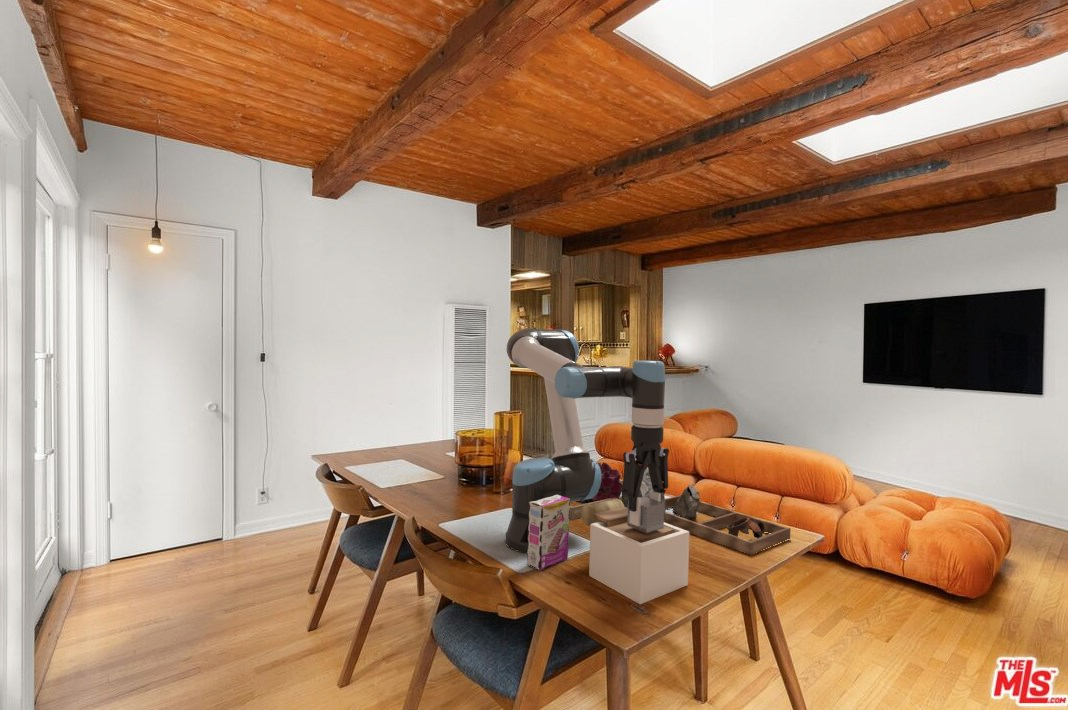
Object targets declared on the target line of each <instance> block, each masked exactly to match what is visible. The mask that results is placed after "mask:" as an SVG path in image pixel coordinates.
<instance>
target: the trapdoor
mask: <svg viewBox="0 0 1068 710" xmlns="http://www.w3.org/2000/svg"><path fill="white" fill-rule="evenodd" d="M627 516H628V508H626V507H624V504H623V503H622V501H621V500H619V499H613V500H608V501H604V502H599V503H595V504H590V505H586V506H583V508H582V510H581V517H582V518H581V519H582V522H583V523H584V524H585V525H586V526H588V527H590V524H592V523H596V522H600V521H604V522H606V523H607V526H604V527H605V528H608V529H610V530H612V531H615V532H617V533H619V534H621V535H624V536H626V537H628V538H631V539H633V540H635V541H638V542H640V543H643V542H646V541H649V540H653V539H656V538H659V537H663V536H666V535H669V534H672V533H674V529H671V528H669V527H666V526H664V528H663V529H659V530H656V531H652V532H649V533H644V532H642V531H639V530H637V529H635V528H632V527H630V526H627Z"/></svg>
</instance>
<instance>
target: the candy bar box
mask: <svg viewBox="0 0 1068 710" xmlns="http://www.w3.org/2000/svg"><path fill="white" fill-rule="evenodd" d="M570 506H571V502H570V498H567V497H564V496H560V495H554V496H551V497H547V498H544V499H540V500H536V501H532V502H529V528H528V553H527V554H526V555H527V559H526V560H527V561H526V565H527V564H528V565H530V566H532V567H531V568H533V567H534V568H533V569H535V568H536V569H535V570H537V569H538V571H540V572H541V571H542V570H544V569H547V568H549V566H550V567H551V565H552V566H554V565H556V564H558V562H559V563H561V562H563V561H566V560H568V559H567V558H568V557H569V537H570V535H569V533H570V519H569V513H570ZM565 559H566V560H565ZM560 561H561V562H560ZM528 565H527V566H528ZM530 566H529V567H530Z"/></svg>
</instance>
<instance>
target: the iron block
mask: <svg viewBox="0 0 1068 710" xmlns="http://www.w3.org/2000/svg"><path fill="white" fill-rule="evenodd" d="M629 522H630V510H629V501H628V516H627V526H630V527H632V528H635V529H637V530H639V531H642V532H644V533H649V532H652V531H656V530H659V529H663V528H664V503H662V502H659V501H656V500H653V499H650V498H647V497H642V498H641V517H640V526H636V525H634V524H631V523H629Z"/></svg>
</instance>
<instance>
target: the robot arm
mask: <svg viewBox="0 0 1068 710" xmlns="http://www.w3.org/2000/svg"><path fill="white" fill-rule="evenodd" d="M506 353H507V357H508V359H509V360H510V361H511V362H512V363H513V364H514V365H516V366H518V367H519V368H523V369H527V368H528V369H529V370H531V371H532V372H534V373H536V374H538V375H539V376H541V377H543V379H544V385H545V392H546V399H547V407H548V412H549V418H550V419H549V420H550V426H551V433H552V439H553V445H554V453H553V455H552V457H551V458H547V457H533V458H528V459H524V460H522V461H519V462H518V463H516V465H515V466H514V467H513V474H512V504H511V505H512V506H511V507H512V510H511V511H512V512H511V514H512V515H511V517H510V520H509V524H508V528H507V531H506V533H505V545H506V544H507V545H508V546H509V547H510V549H511V548H512V550H513V549H514V551H516V550H517V552H520V551H521V553H527V554H528V528H529V502H532V501H536V500H540V499H544V498H547V497H551V496H554V495H560V496H564V497H567V498H570V503H572V502H573V503H574V502H583V500H586V499H591V498H593V497H594V496H595V495H596V494H597V493H598V490H599V488H600V485H601V470H600V467H599V465H598V462H597V460H595V459H593V458H591V455H590V451H588V450H587V449H585V448H584V445H583V438H582V433H581V428H580V420H579V414H578V408H577V403H576V402H577V401H576V399H585V398H587V399H588V398H611V397H613V398H615V397H617V398H618V397H622V398H631V423H632V424H633V425H632V426H631V428H630V429H631V431H630V440H631V441H632V443H633V446H632V449H631V450H630V451H629V452H626V451H625V452H623V453H622V454H623V455H622V457H623V475H622V477H623V478H622V480H623V486H622V492H621V495H622V494H624V495H627V496H628V497H629V510H630V522H629V523H631V524H634V525H636V526H640V517H641V498H640V497H638V496H639V492H640V488H641V483H642V479H643V475H644V471H645V470H646V469H647V468H648V469H649V474H650V479H651V484H652V489H653V490H654V491H650V499H653V500H656V501H659V502H661V500H662V493H666V492H667V491H666V490H667V489H668V488H669V466H668V465H669V461H668V460H669V459H668V458H669V453H670V450H669V448H665V447H662V446H661V444H662V443H663V442H664V427H663V425H664V424H665V389H666V388H665V387H666V379H667V378H666V371H665V370H666V365H665V363H664V362H663V361H661V360H635V361H633V364H632V367H626V366H625V367H624V366H621V365H620V366H619V365H618V366H616V365H615V366H583V365H581V364H579V363H577V362H578V360H579V355H578V354H580V348H579V343H578V341H577V338H576V337H575V335H574V334H573V333H572V332H570V331H569V330H564V329H559V328H554V329H550V328H547V329H546V328H531V327H530V328H522V329H519V330H517V331H516V332H514V333H513V334H512V335H511V336H510V337H509V339H508V340H507V343H506ZM662 482H663V483H662ZM633 491H634V492H633ZM507 545H506V546H507ZM508 546H507V547H508ZM509 547H508V548H509Z"/></svg>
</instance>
